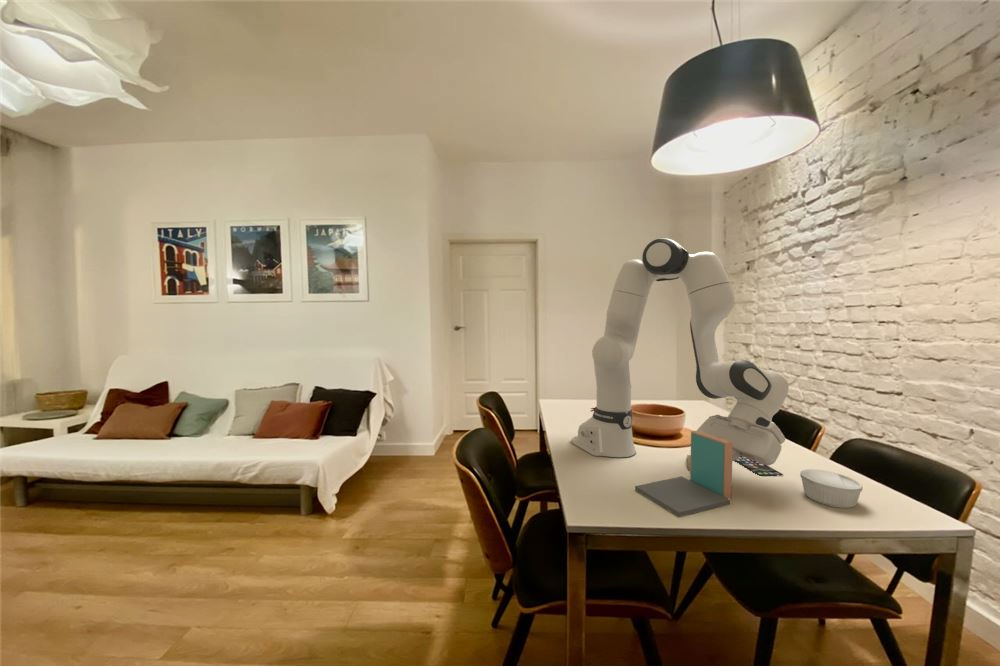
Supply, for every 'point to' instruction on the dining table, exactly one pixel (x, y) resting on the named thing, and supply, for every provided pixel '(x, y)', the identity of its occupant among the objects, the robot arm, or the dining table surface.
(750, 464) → the smartphone
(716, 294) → the robot arm
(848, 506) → the ramekin
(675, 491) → the mat
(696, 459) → the tile
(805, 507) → the dining table surface
